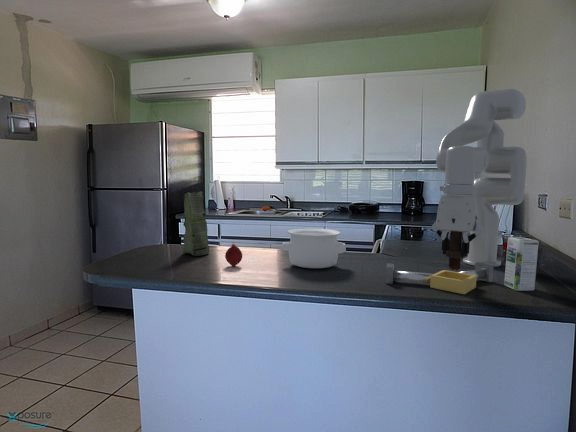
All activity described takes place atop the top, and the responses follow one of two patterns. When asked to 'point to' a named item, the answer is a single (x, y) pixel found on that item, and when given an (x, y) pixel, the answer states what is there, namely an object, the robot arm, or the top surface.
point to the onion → (233, 255)
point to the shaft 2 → (482, 272)
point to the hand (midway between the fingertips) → (455, 254)
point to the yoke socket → (453, 281)
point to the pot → (313, 247)
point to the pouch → (195, 225)
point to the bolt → (454, 249)
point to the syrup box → (521, 263)
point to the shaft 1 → (406, 276)
